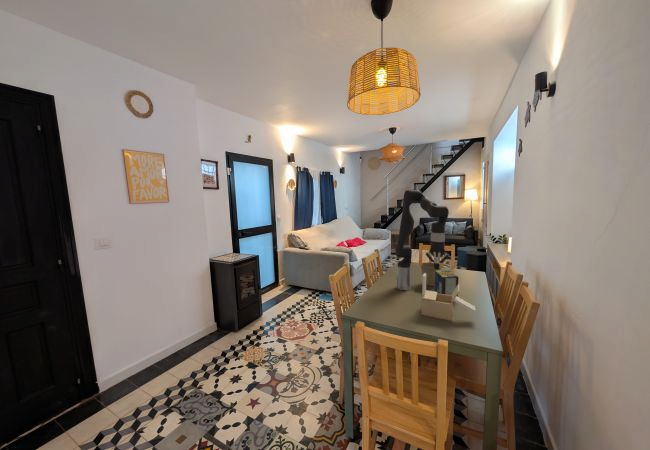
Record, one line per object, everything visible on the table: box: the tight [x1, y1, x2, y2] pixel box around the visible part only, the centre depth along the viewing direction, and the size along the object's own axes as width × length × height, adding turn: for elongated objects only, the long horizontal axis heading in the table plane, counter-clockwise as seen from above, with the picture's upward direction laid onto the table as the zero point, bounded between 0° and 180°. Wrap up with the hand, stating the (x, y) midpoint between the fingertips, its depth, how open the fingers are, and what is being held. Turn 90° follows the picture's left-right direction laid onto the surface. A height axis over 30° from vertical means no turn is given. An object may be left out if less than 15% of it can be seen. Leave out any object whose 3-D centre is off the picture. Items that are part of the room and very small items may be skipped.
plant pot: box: [420, 262, 442, 287], centre depth 198 cm, size 15×15×16 cm
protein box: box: [434, 270, 460, 297], centre depth 177 cm, size 10×15×16 cm
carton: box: [421, 293, 454, 322], centre depth 150 cm, size 16×14×10 cm
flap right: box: [452, 283, 476, 313], centre depth 142 cm, size 8×14×13 cm
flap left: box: [421, 273, 437, 301], centre depth 150 cm, size 8×14×13 cm, turn 152°
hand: (436, 269), depth 148 cm, fingers closed
